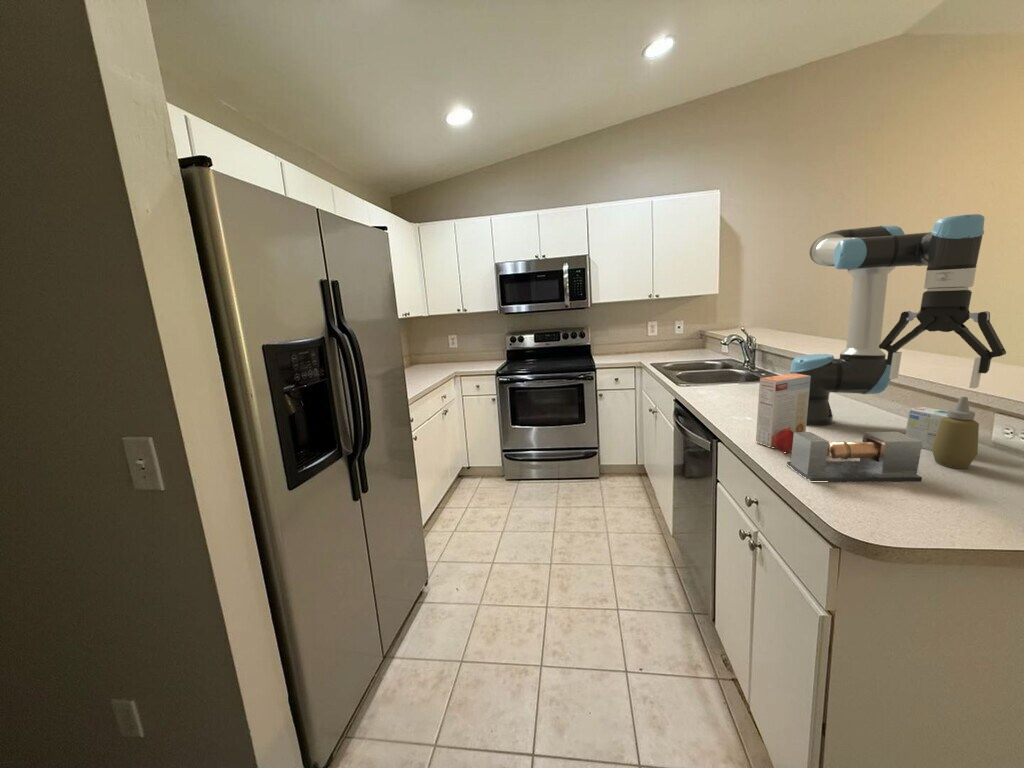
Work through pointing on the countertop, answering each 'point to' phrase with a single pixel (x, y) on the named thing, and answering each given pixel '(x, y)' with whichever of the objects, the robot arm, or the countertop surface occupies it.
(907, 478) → the jig
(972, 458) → the squeeze bottle
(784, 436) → the red round fruit
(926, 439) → the light bulb box
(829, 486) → the countertop surface
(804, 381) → the cracker box
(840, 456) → the copper tube
